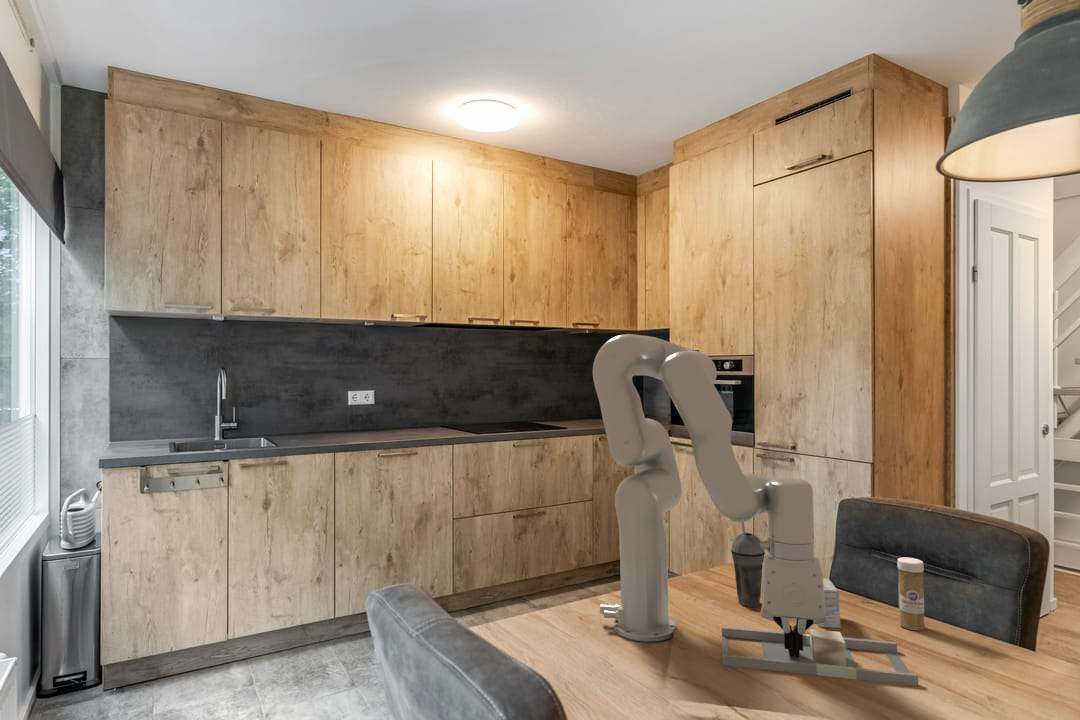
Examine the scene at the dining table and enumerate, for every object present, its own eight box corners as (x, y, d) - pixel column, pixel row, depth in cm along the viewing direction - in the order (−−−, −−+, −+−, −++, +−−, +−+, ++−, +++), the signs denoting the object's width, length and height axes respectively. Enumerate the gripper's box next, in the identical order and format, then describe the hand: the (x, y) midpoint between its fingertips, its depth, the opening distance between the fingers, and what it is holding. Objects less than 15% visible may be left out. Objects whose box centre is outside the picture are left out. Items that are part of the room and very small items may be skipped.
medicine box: (841, 635, 123) (840, 591, 123) (816, 634, 123) (815, 589, 124) (830, 620, 130) (829, 578, 131) (808, 618, 131) (807, 577, 131)
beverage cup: (771, 609, 137) (768, 517, 137) (737, 609, 137) (735, 517, 137) (759, 597, 144) (757, 510, 144) (728, 597, 144) (726, 510, 144)
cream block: (814, 664, 108) (813, 640, 108) (810, 651, 112) (809, 629, 112) (846, 667, 106) (845, 643, 106) (840, 654, 111) (840, 631, 111)
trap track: (722, 673, 108) (722, 655, 108) (722, 642, 120) (721, 626, 120) (918, 695, 100) (918, 676, 100) (896, 659, 112) (895, 642, 112)
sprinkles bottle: (905, 631, 124) (903, 562, 124) (895, 622, 129) (893, 556, 129) (929, 631, 124) (927, 563, 124) (918, 622, 128) (916, 556, 128)
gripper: (748, 552, 110) (750, 658, 109) (841, 558, 106) (844, 668, 105) (746, 541, 117) (748, 640, 116) (833, 546, 113) (835, 648, 112)
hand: (793, 653), depth 111 cm, fingers closed
